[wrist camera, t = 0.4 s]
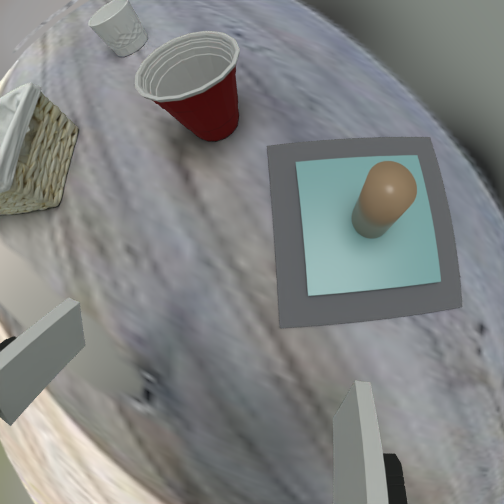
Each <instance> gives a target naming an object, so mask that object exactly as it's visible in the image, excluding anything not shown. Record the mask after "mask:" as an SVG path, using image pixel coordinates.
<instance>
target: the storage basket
mask: <svg viewBox="0 0 504 504" xmlns="http://www.w3.org/2000/svg"><path fill="white" fill-rule="evenodd" d="M74 134H75V135H74ZM77 134H78V127H77V126H75V124H74V123H73V122H72V121H71V120H70V119H68V118H67V117H66V115H65V114H64V113H62V112H61V111H60V109H59V108H58V107H57V106H56V105H53V103H52V102H51V101H49V99H48V98H47V97H45V96H44V94H42V92H41V87H39V86H38V85H34V84H32V83H27V84H24V85H22V86H20V87H18V88H16V89H14V90H12V91H10V92H9V93H7V94H5V95H4V96H2V97H1V98H0V215H5V214H8V215H11V214H19V213H27V212H30V211H34V210H38V209H39V210H45V209H47V208H48V207H56V206H58V205H59V203H60V201H61V198H62V194H63V187H64V185H65V180H66V175H67V172H68V169H69V165H70V160H71V157H72V154H73V149H74V145H75V144H76V140H77Z"/></svg>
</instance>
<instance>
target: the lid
mask: <svg viewBox="0 0 504 504" xmlns="http://www.w3.org/2000/svg"><path fill="white" fill-rule="evenodd" d="M296 170H297V178H298V187H299V196H300V206H301V216H302V226H303V237H304V248H305V260H306V273H307V287H308V296H316V295H328V294H339V293H350V292H360V291H370V290H379V289H388V288H397V287H405V286H414V285H422V284H429V283H437V282H441V276H440V267H439V259H438V251H437V244H436V238H435V232H434V226H433V220H432V215H431V210H430V205H429V200H428V196H427V191H426V187H425V183H424V178H423V174H422V170H421V167H420V163H419V159H418V156H417V155H401V156H372V157H352V158H337V159H324V160H312V161H301V162H296Z"/></svg>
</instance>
